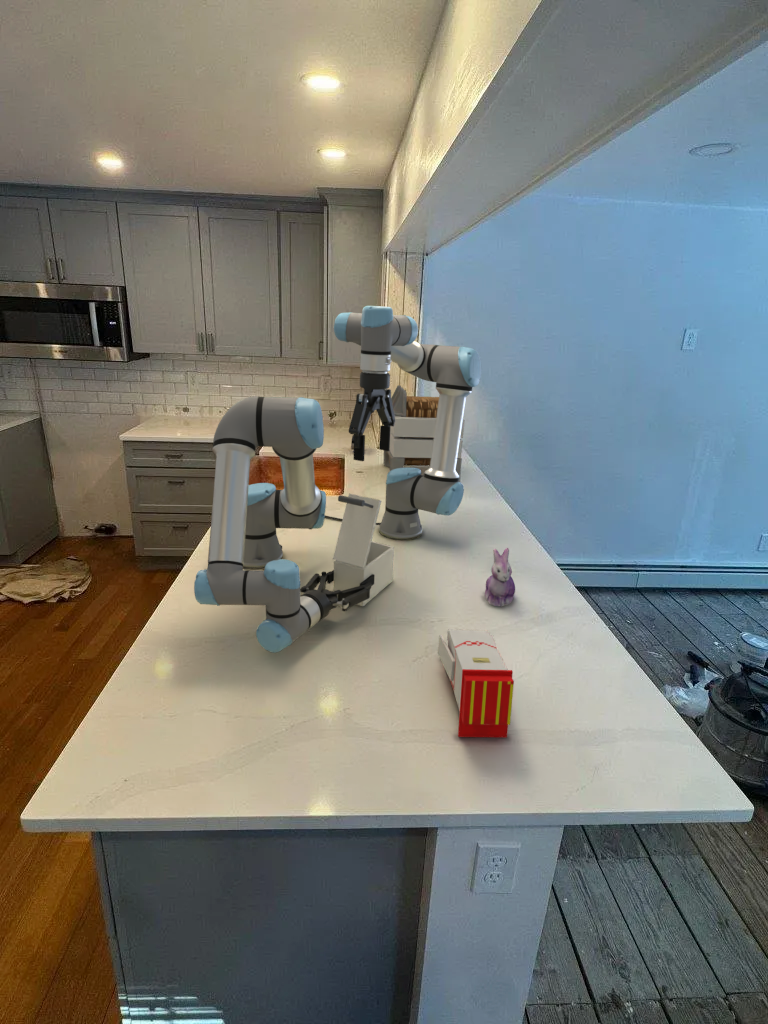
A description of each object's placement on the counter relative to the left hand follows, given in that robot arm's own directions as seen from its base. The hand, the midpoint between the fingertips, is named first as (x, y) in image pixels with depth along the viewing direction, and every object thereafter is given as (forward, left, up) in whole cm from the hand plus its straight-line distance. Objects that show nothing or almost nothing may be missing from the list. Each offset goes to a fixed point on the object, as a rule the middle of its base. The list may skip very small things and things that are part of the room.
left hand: (357, 574), depth 154 cm
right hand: (0, +6, +32) cm, 33 cm away
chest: (0, +4, -6) cm, 8 cm away
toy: (+41, -23, -6) cm, 48 cm away
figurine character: (-85, +143, -6) cm, 166 cm away
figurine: (+35, +19, -6) cm, 40 cm away
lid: (0, 0, +13) cm, 13 cm away
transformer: (-38, +123, -6) cm, 129 cm away
